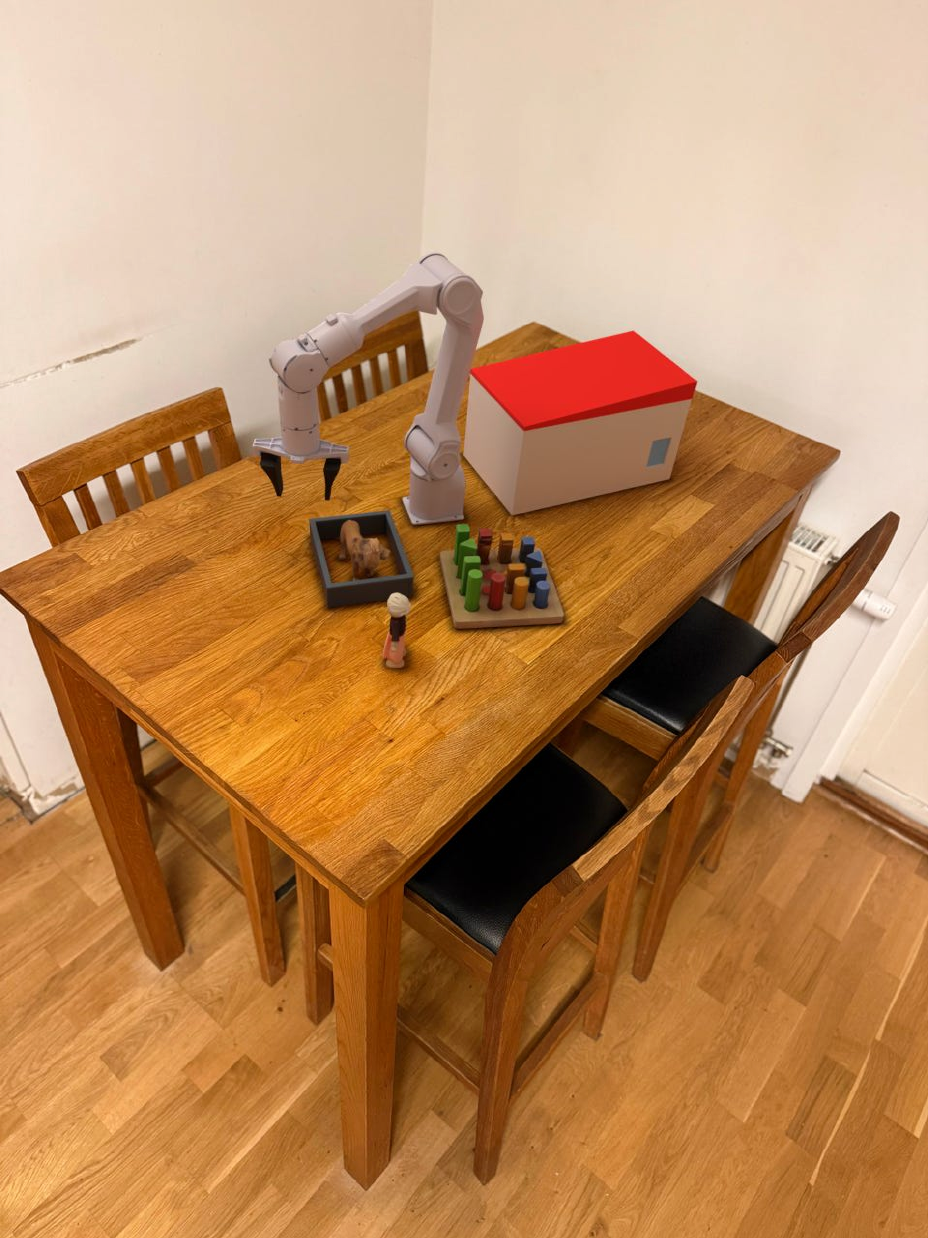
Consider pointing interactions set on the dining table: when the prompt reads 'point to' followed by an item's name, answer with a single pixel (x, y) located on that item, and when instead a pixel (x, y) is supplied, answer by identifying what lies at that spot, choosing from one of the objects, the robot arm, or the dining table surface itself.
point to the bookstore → (576, 421)
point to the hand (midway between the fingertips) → (304, 494)
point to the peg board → (498, 582)
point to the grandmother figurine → (396, 630)
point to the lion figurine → (361, 550)
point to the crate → (368, 587)
